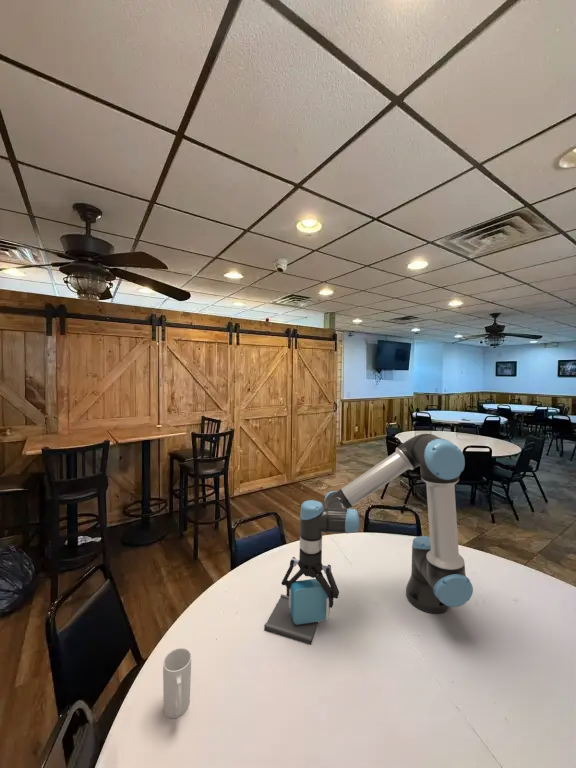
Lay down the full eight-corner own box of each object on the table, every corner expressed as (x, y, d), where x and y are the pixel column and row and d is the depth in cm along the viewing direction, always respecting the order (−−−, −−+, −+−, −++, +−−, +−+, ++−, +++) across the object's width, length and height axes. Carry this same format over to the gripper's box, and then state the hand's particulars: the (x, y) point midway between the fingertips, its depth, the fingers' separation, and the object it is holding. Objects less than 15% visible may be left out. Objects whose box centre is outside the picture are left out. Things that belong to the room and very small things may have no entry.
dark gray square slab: (322, 610, 115) (322, 605, 115) (311, 645, 100) (311, 639, 100) (281, 598, 121) (281, 594, 121) (264, 630, 106) (264, 625, 106)
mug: (162, 697, 83) (162, 652, 83) (189, 688, 86) (189, 644, 85) (163, 738, 74) (164, 687, 73) (193, 726, 76) (194, 677, 76)
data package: (323, 610, 112) (324, 577, 112) (328, 620, 108) (328, 585, 108) (290, 615, 110) (291, 581, 109) (293, 625, 105) (294, 590, 105)
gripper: (348, 549, 108) (347, 612, 108) (280, 536, 116) (279, 594, 116) (345, 562, 100) (343, 628, 101) (272, 546, 109) (271, 608, 109)
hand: (309, 610), depth 109 cm, fingers closed on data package, 12 cm apart
